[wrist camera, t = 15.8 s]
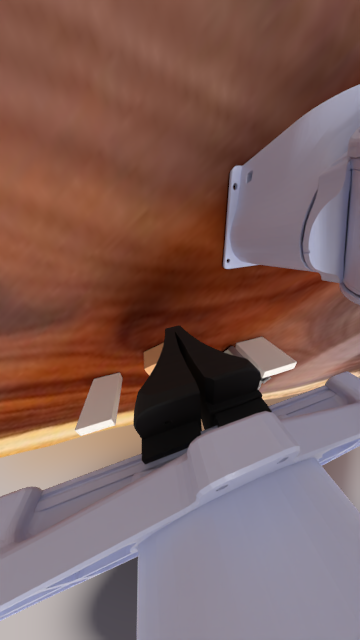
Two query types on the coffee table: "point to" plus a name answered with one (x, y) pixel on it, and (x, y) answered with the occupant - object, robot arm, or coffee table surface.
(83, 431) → the door frame
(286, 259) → the robot arm
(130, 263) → the coffee table surface
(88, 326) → the coffee table surface
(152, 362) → the stepped wooden block
